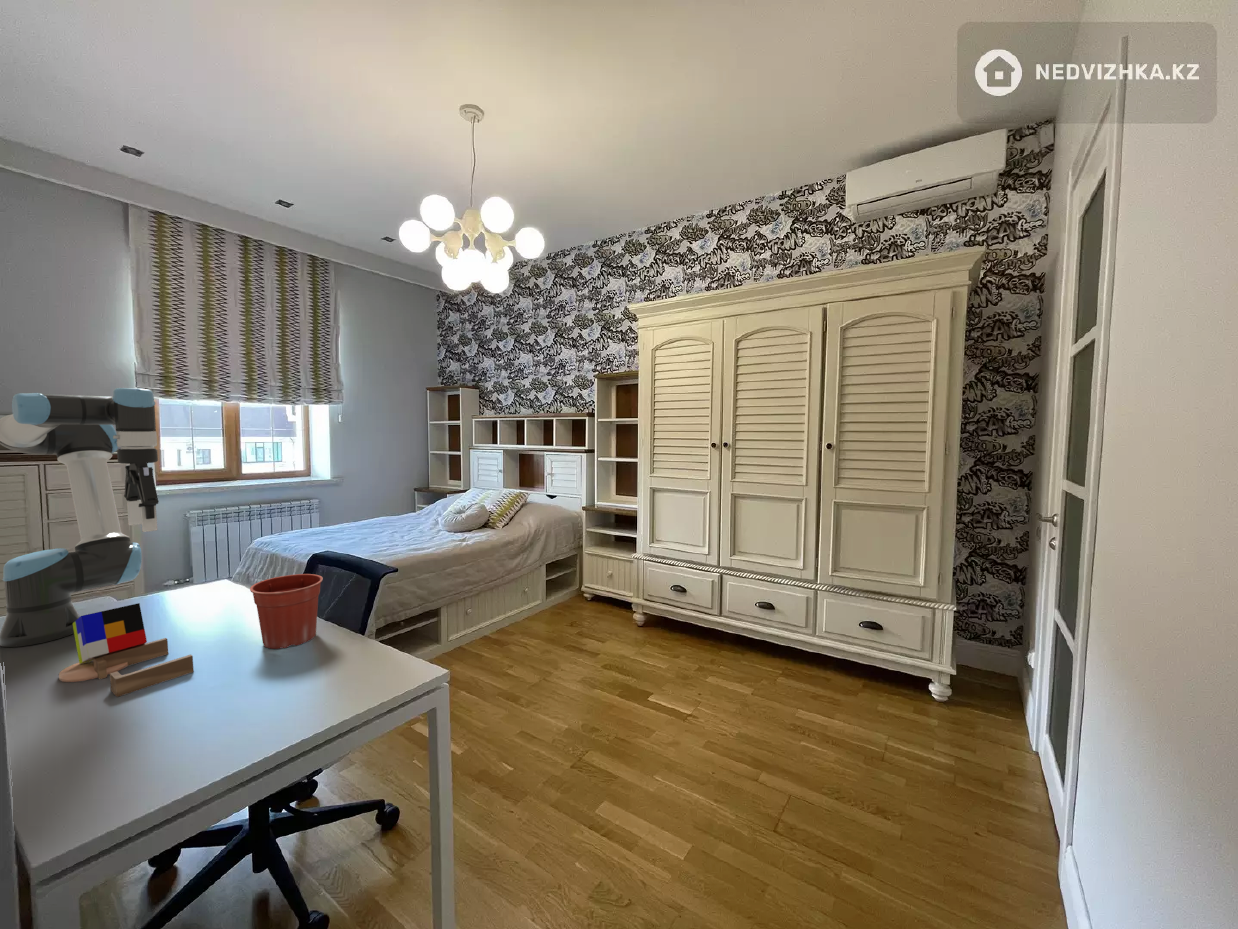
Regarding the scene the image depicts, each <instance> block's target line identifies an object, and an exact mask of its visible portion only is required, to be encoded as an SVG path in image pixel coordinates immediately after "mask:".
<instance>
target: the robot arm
mask: <svg viewBox="0 0 1238 929" xmlns="http://www.w3.org/2000/svg"><path fill="white" fill-rule="evenodd" d="M112 393H113V394H112V396H108V395H107V396H105V395H83V394H82V395H80V394H79V395H78V394H77V395H76V394H60V393H59V394H56V393H55V394H53V393H52V394H51V393H40V392H31V393H27V392H26V393H25V392H24V393H23V392H20V393H16V394H14V395H13V397H12V402H11V411H12V414H7V415H5V416H3V417H2V416H1V418H0V446H2V447H4V448H7V449H9V450H11V451H14V452H18V453H23V454H27V455H28V454H29V455H37V456H38V455H39V456H40V455H45V456H46V455H55V456H56V458H57V462H58V463H61V464H63V465H65V466H66V470H67V475H68V481H69V486H70V492H71V497H72V500H73V501H72V502H73V506H74V511H75V517H76V520H77V527H78V532H79V536H80V541H78V542H77V543H76V545H74V551H70V552H69V550H68V549H67V548H63V547H61V548H53V549H45V550H44V549H43V550H39V551H34V552H30V553H26V554H23V555H19V556H17V557H13V558H11V559H9V560H8V561H7V562H6V563H4V565H3V569H2V570H3V574H2V576H3V577H2V582H4V595H5V596H4V597H5V608H6V617H5V619H4V622H3V624H2V627H1V630H0V647H3V648H18V647H26V646H27V647H28V646H33V645H39V644H42V643H47V642H51V641H54V640H58V639H62V638H65V637H68V636H71V635H74V630H73V623H74V622H75V621H76V620H77V619H78V618H79V617H80V616H81V615H80V614H79V612H78V610H77V609H76V608H75V606H74V604H73V602H72V594H73V593H78V592H83V591H84V592H85V591H88V590H92V589H93V590H94V589H98V588H104V587H108V586H112V585H114V586H115V585H117V586H118V585H119V584H124V583H127V582H131V581H133V580H135V579H136V578H137V577H138V576H139V574H140V571H141V568H142V560H143V556H142V555H143V554H142V548H141V545H140V543H138V542H133V541H132V542H131V537H130V536H129V535H126V534H124V533H123V532H122V528H121V524H120V523H121V522H120V519H119V514H118V510H117V508H118V507H117V506H116V499H115V495H114V491H113V485H112V479H111V475H110V471H109V466H108V462H109V461H110V460H111V458H112V457H113V453H117V454H116V456H117V463H119V464H123V465H124V464H125V466H124V468H125V477H124V478H125V483H124V495H123V497H124V498H125V500H126V507H127V510H126V511H127V520H128V521H127V523H128V526H136V525H141V529H142V533H145V532H147V533H148V532H156V531H158V518H157V516H158V515H157V505H158V504H159V503H160V502H159V499H158V498H159V497H158V495H157V494H158V493H157V489H156V484H155V483H156V482H155V479H154V474H153V473H154V472H153V471H154V468H153V467H152V466H151V467H149V466H148V464H150V463H151V464H153V463H157V462H158V460H159V459H158V458H159V457H158V456H159V455H158V449H157V448H155V447H157V446H158V438H157V437H158V436H157V434H158V432H157V426H156V409H155V408H156V407H155V406H156V402H155V396H154V392H153V390H151V389H148V388H147V389H145V388H133V387H132V388H131V387H130V388H129V387H117V388H114V389H113V392H112ZM114 426H115V427H114Z"/></svg>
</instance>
